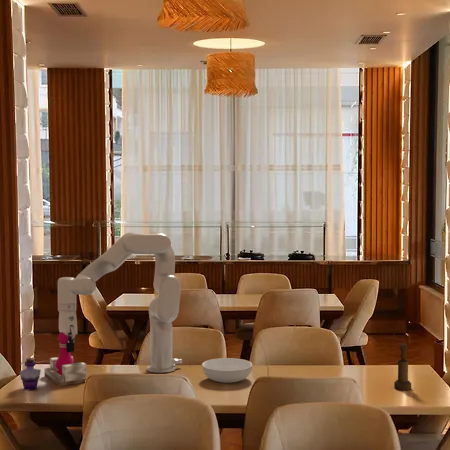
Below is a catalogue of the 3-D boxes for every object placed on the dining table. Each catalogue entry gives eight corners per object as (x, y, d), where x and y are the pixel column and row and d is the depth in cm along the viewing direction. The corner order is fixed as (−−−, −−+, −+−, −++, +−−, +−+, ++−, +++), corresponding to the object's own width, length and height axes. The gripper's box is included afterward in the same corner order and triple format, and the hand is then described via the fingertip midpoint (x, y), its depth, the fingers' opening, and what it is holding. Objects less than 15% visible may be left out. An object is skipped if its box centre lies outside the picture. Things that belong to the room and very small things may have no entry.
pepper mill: (69, 378, 315) (70, 329, 314) (52, 376, 317) (54, 328, 316) (76, 373, 322) (77, 326, 321) (59, 372, 324) (61, 325, 323)
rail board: (71, 372, 330) (71, 354, 330) (87, 381, 315) (87, 363, 315) (44, 376, 324) (44, 358, 323) (59, 386, 309) (59, 367, 308)
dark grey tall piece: (413, 387, 306) (414, 342, 305) (408, 391, 300) (409, 345, 299) (397, 385, 309) (397, 341, 308) (392, 389, 304) (392, 344, 303)
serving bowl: (193, 383, 313) (193, 366, 312) (215, 371, 332) (215, 356, 331) (240, 389, 304) (240, 372, 304) (260, 377, 323) (260, 360, 323)
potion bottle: (24, 385, 311) (24, 355, 310) (45, 385, 309) (44, 356, 308) (15, 390, 302) (15, 360, 301) (36, 391, 301) (35, 361, 300)
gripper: (83, 309, 313) (83, 353, 314) (68, 303, 327) (68, 345, 329) (65, 311, 309) (66, 355, 310) (51, 305, 324) (51, 347, 325)
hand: (67, 350), depth 319 cm, fingers open, 5 cm apart
